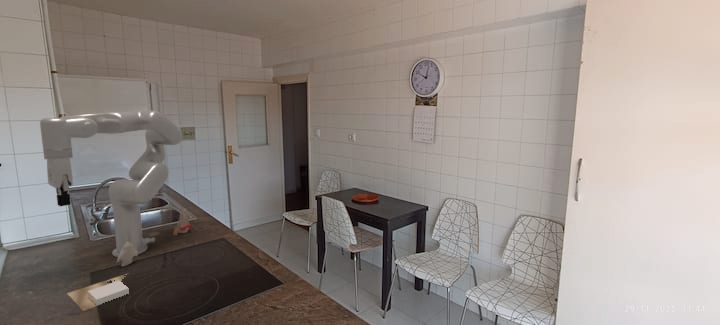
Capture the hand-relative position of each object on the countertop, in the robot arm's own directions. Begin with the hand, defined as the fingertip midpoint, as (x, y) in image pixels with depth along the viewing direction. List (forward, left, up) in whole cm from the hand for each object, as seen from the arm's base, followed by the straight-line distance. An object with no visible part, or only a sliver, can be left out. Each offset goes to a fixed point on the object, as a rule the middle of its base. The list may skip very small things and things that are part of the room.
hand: (64, 205), depth 123 cm
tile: (-3, +22, -25) cm, 34 cm away
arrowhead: (-16, +6, -27) cm, 32 cm away
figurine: (-47, -14, -27) cm, 56 cm away
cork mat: (-4, +22, -27) cm, 35 cm away
